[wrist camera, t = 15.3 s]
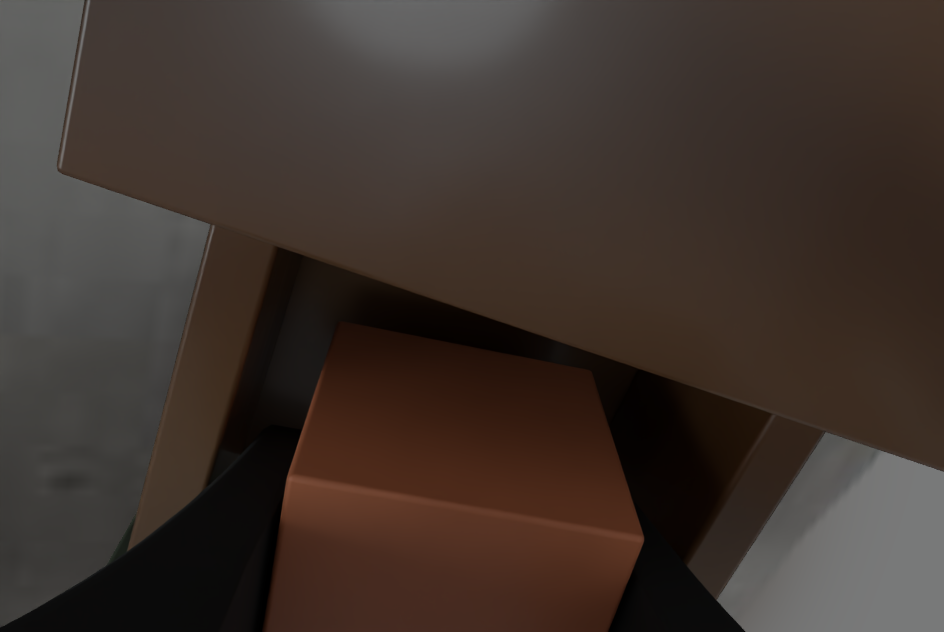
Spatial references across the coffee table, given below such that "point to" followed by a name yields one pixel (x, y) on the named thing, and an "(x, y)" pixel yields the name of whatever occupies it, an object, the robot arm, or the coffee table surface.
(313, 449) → the block
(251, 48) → the cabinet
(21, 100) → the coffee table surface
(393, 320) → the drawer
